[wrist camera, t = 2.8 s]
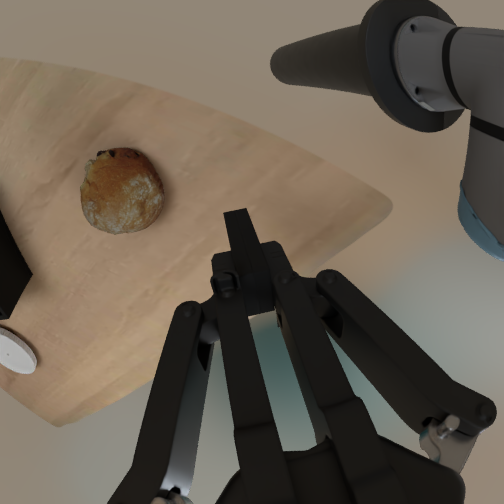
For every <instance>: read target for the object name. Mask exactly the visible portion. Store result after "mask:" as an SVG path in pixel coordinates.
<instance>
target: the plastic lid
mask: <svg viewBox="0 0 504 504" xmlns="http://www.w3.org/2000/svg"><path fill="white" fill-rule="evenodd" d="M0 363H1V364H2V365H4V366H6V367H7V368H9V369H11V370H13V371H15V372H19V373H23V374H29V373H33V372H34V370H35V367H36V364H37V360H36V357H35V355H34V353H33V351H32V350H31V349H30V347H28V345H26V343H24V341H22V340H21V339H20V338H18V337H17V336H15V334H13V333H11V332H10V331H8V330H5V329H3V328H0Z"/></svg>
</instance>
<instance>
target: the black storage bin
mask: <svg viewBox="0 0 504 504" xmlns="http://www.w3.org/2000/svg"><path fill="white" fill-rule="evenodd" d="M32 275H33V274H32V272H31V270H30V269H29V267H28V265H27V263H26V261H25V260H24V258H23V256H22V254H21V252H20V250H19V248H18V246H17V245H16V243H15V241H14V239H13V236H12V234H11V232H10V230H9V228H8V226H7V224H6V222H5V219H4V217H3V215H2V213H1V210H0V320H5V319H9V318H10V316H11V314H12V312H13V310H14V308H15V306H16V304H17V302H18V300H19V298H20V296H21V294H22V293H23V291H24V289H25V287H26V285H27V284H28V282H29V280H30V278H31V277H32Z"/></svg>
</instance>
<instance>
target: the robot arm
mask: <svg viewBox="0 0 504 504" xmlns="http://www.w3.org/2000/svg"><path fill="white" fill-rule="evenodd" d="M390 61H391V66H392V70H393V73H394V76H395V78H396V81H397V83H398V85H399V86H400V88H401V90H402V91H403V92H404V94H405V95H406V96H407V97H408V98H409V99H410V100H411V101H412V102H413V103H415V104H416V105H418V106H420V107H422V108H425V109H428V110H429V111H436V112H441V111H450V110H457V109H465V108H466V109H469V110H471V119H470V130H469V140H468V148H467V155H466V162H465V168H464V173H463V179H462V180H461V182H460V196H459V202H458V216H459V220H460V222H461V224H462V226H463V227H464V230H465V231H466V233H467V234H468V235H469V237H470V238H471V239H472V240H473V241H474V242H475V243H476V244H477V245H478V246H479V247H480V248H482V249H483V250H484V251H485V252H487V253H488V254H490V255H491V256H493V257H495V258H496V259H499V260H501V261H504V30H499V29H488V28H475V27H457V26H455V25H452V24H450V23H447V22H444V21H442V20H439V19H436V18H433V17H429V16H413V17H409V18H406V19H404V20H403V21H401V22H400V23H399V24H398V25H397V27H396V28H395V30H394V32H393V34H392V37H391V42H390ZM223 214H224V219H225V224H226V228H227V233H228V238H229V243H230V248H231V251H227V252H222V253H217V254H214V256H213V258H212V260H211V262H212V270H213V276H212V277H211V280H210V283H211V286H212V289H213V293H214V294H213V295H212V297H211V298H210V299H208V300H207V301H205V302H203V303H201V304H199V303H198V302H196V301H186V302H183V303H181V304H180V305H179V306H178V307H177V308H176V310H175V312H174V315H173V318H172V321H171V324H170V327H169V331H168V334H167V337H166V340H165V344H164V347H163V350H162V353H161V357H160V360H159V363H158V367H157V370H156V374H155V377H154V381H153V384H152V388H151V392H150V395H149V399H148V402H147V406H146V410H145V414H144V418H143V421H142V426H141V429H140V433H139V437H138V442H137V446H136V450H135V454H134V459H133V463H132V467H131V468H130V470H129V471H128V473H127V475H126V476H125V477H124V479H123V480H122V482H121V483H120V485H119V486H118V488H117V489H116V491H115V492H114V494H113V495H112V497H111V498H110V500H109V501H108V503H107V504H193V503H192V501H191V500H190V499H189V498H187V496H188V493H189V490H190V487H191V483H192V479H193V475H194V468H195V461H196V454H197V447H198V441H199V434H200V428H201V422H202V415H203V409H204V403H205V397H206V390H207V384H208V378H209V373H210V366H211V361H212V355H213V349H214V342H216V341H218V340H219V339H220V342H221V349H222V356H223V362H224V369H225V375H226V381H227V388H228V393H229V400H230V405H231V411H232V417H233V422H234V440H235V446H236V451H237V456H238V461H239V466H240V469H239V470H238V471H237V472H236V473H235V474H234V475H233V476H232V478H231V479H230V480H229V482H228V483H227V485H226V487H225V488H224V490H223V492H222V493H221V495H220V497H219V498H218V500H217V501H216V503H215V504H464V499H465V484H464V481H463V479H462V477H461V476H460V472H461V471H462V469H463V467H464V465H465V463H466V461H467V459H468V457H469V455H470V453H471V450H472V448H473V446H474V444H475V442H476V439H477V437H478V435H479V434H480V433H481V432H482V431H484V430H485V429H487V428H488V427H489V426H490V425H492V424H493V422H494V421H495V419H496V414H497V410H496V406H495V404H494V402H493V401H492V400H490V399H489V398H487V397H485V396H483V395H481V394H479V393H477V392H475V391H473V390H471V389H469V388H467V387H465V386H463V385H461V384H459V383H457V382H455V381H453V380H452V379H451V378H450V377H449V376H448V375H447V374H446V373H445V372H444V371H443V370H442V368H440V367H439V366H438V364H437V363H436V362H434V360H433V359H431V358H430V357H429V356H428V355H427V354H426V353H425V352H424V351H423V350H422V349H421V348H420V347H419V346H418V345H417V344H416V343H415V342H414V341H413V340H412V339H411V338H410V337H409V336H408V335H407V334H406V333H405V332H404V331H403V330H402V329H401V328H399V326H398V325H396V324H395V323H394V322H393V321H392V320H391V319H390V318H389V317H388V316H387V315H386V314H385V313H384V312H383V311H382V310H381V309H379V308H378V307H377V306H376V305H375V304H374V303H373V302H372V301H371V300H370V299H369V298H367V297H366V296H365V295H364V294H363V293H362V292H361V291H360V290H359V289H358V288H357V287H356V286H354V285H353V284H352V283H351V282H350V281H348V279H347V278H346V277H344V276H343V275H342V274H341V273H340V272H338V271H336V270H332V269H326V270H323V271H321V272H319V273H318V274H317V276H316V278H306V277H301V276H299V275H298V273H297V272H295V271H293V269H292V267H291V265H290V263H289V261H288V259H287V257H286V255H285V252H284V251H283V248H282V246H281V244H279V243H278V242H276V241H271V242H266V243H261V244H260V242H259V240H258V237H257V234H256V232H255V229H254V227H253V224H252V221H251V219H250V216H249V214H248V211H247V208H244V209H239V210H234V211H229V212H224V213H223ZM274 306H275V308H274ZM275 309H276V314H277V324H278V327H280V328H281V332H282V335H283V338H284V341H285V344H286V347H287V350H288V352H289V356H290V359H291V362H292V364H293V368H294V371H295V374H296V377H297V380H298V383H299V386H300V389H301V392H302V395H303V398H304V401H305V404H306V407H307V410H308V413H309V416H310V419H311V422H312V425H313V428H314V432H315V438H316V443H317V445H316V446H315V447H313V448H311V449H309V450H306V451H283V450H282V446H281V442H280V438H279V435H278V431H277V427H276V424H275V421H274V417H273V414H272V410H271V406H270V402H269V398H268V395H267V391H266V387H265V383H264V379H263V375H262V371H261V367H260V363H259V359H258V355H257V351H256V347H255V343H254V339H253V335H252V332H251V327H250V323H249V319H248V316H252V315H257V314H261V313H265V312H270V311H274V310H275ZM325 330H326V331H327V332H328V333H329V334H330V336H331V337H332V338H333V339H334V340H335V342H336V343H337V344H338V345H339V346H340V347H341V348H342V350H343V351H344V352H345V353H346V354H347V356H348V357H349V358H350V359H351V360H352V361H353V362H354V364H355V365H356V366H357V367H358V368H359V370H360V371H361V372H362V373H363V374H364V375H365V377H366V378H367V379H368V380H369V381H370V382H371V384H372V385H373V386H374V387H375V388H376V390H377V391H378V392H379V393H380V394H381V395H382V397H383V398H384V399H385V400H386V401H387V403H388V404H389V405H390V406H391V407H392V408H393V409H394V411H395V412H396V413H397V414H398V415H399V417H400V418H401V419H402V420H403V421H404V422H405V423H406V424H407V425H408V426H409V427H410V428H411V429H412V430H414V431H415V432H416V433H418V434H420V437H419V442H420V447H421V449H422V450H425V452H426V453H427V454H428V456H429V458H430V459H428V458H426V457H424V456H422V455H419V454H417V453H415V452H413V451H411V450H409V449H407V448H405V447H403V446H401V445H399V444H397V443H394V442H393V441H391V440H389V439H387V438H385V437H383V436H380V435H378V434H377V432H376V429H375V427H374V425H373V422H372V420H371V418H370V415H369V413H368V411H367V409H366V406H365V404H364V403H363V401H362V399H360V397H357V396H356V395H355V394H354V392H353V390H352V388H351V386H350V383H349V381H348V379H347V377H346V374H345V372H344V370H343V368H342V365H341V363H340V361H339V359H338V357H337V354H336V352H335V350H334V348H333V346H332V343H331V341H330V339H329V337H328V335H327V333H326V331H325Z"/></svg>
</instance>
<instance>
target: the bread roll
mask: <svg viewBox="0 0 504 504" xmlns="http://www.w3.org/2000/svg"><path fill="white" fill-rule="evenodd" d="M85 171H86V177H85V179H84V182H83V184H82V185H81V187H80V191H81V204H82V209H83V212H84V216H85V217H86V219H87V220H88V222H89V223H90V224H91V225H92V226H93V227H95V228H97V229H99V230H102V231H105V232H107V233H111V234H114V235H116V234H121V233H125V232H126V233H130V232H137V231H140V230H142V229H145V228H147V227H148V226H149V225H151V224H152V223H153V222H154V221H155V220H156V219H157V217H158V216H159V214H160V212H161V210H162V207H163V203H164V189H163V184H162V182H161V179H160V178H159V176H158V174H157V173H156V171H155V169H154V168H153V166H152V164H151V163H150V162H149V160H148V159H147V158H146V157H145V156H144V155H143V154H142V153H140V152H136V151H134V150H132V149H130V148H113V149H109V150H107V151H99V152H98V153H97V157H96V160H92V159H91V160H89V161H88V162H87V163H86V164H85Z"/></svg>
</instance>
